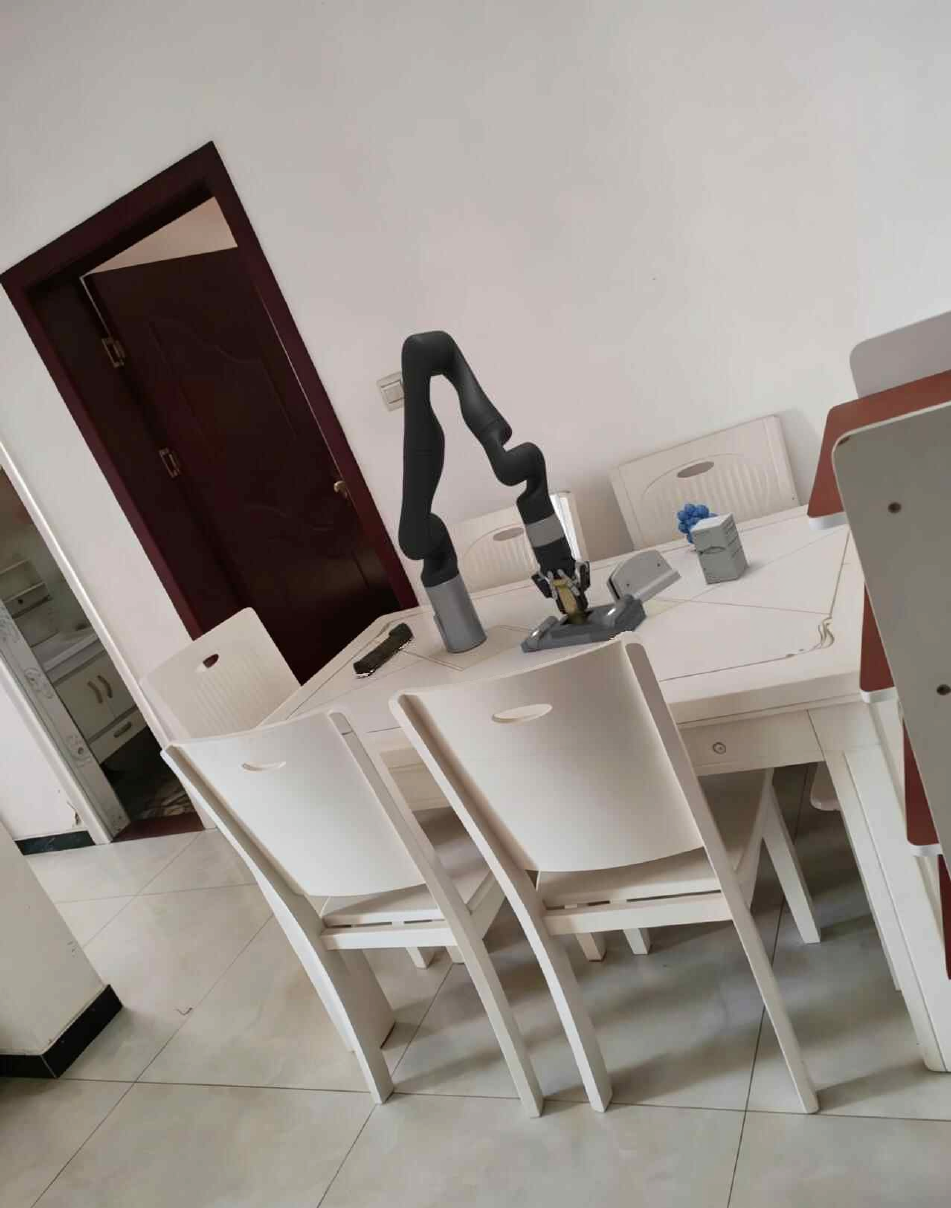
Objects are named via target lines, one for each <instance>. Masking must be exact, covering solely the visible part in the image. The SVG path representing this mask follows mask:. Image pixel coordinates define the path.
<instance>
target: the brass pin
mask: <svg viewBox="0 0 951 1208" xmlns="http://www.w3.org/2000/svg"><path fill="white" fill-rule="evenodd" d="M569 578H570V577H569ZM570 579H571V581H573V580H574V579H575V575H574V576H573V577H572V578H570ZM567 583H569V582H568V581H567V579H566V578H559V579H555V580H553V581H551V584H552V586H553V587H556V589H557V591H558V594H559V597H560V599H561V602H562V604H563V607H564V610H565V612H566V614H565V615H567V617H568V620H569V622H570V624H574V623H580V622H584V621H585V620H586V619H587V618H588V617H587V614H586V612H585V611H583V612H581V611H580V609H579V606H578V603H577V601H576V598H575V596H576V595H575V594H574V592H573V591H572V589H571V588H569V587H568V586H567Z"/></svg>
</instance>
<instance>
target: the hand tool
mask: <svg viewBox="0 0 951 1208" xmlns="http://www.w3.org/2000/svg"><path fill="white" fill-rule="evenodd" d="M412 637H413V638H414V633H413V631H412V629H411V627H410V626H409V625H408V624H407V623H405V622H401V623H399V624H397V625H396V626H395V627H393V628H391V630H390V631H389V632H388V637H386V639H385V640H383V641H382V642H381V643H379V644H378V645H376V647H375V648H374V649H372V650H371V651H369V652H368V653H367V654H366V655H364V656H362V658H361V659H360V660H357V661H355V662H353V664H352V667H353V669H354V672H355V674H356V675H357V674H363V673H370V671H371V670H373V669H374V668H375V667H376V666H377V665H378V664H379V665H380V663H381V662H382V661H383V660H384V661H385V659H386V658H387V659H388V658H389V657H391V656H392V655H393V654H394V653H395V652H396V651H398V650H400V649H399V648H400V647H402V646H403V645H404V644H406V643H407V642H408V641H410V639H411V638H412ZM413 638H412V639H413ZM410 642H411V641H410ZM393 652H394V653H393ZM392 653H393V654H392ZM387 659H386V660H387ZM384 661H383V662H384ZM383 662H382V663H383ZM382 663H381V664H382ZM379 665H378V666H379ZM378 666H377V667H378ZM377 667H376V668H377ZM376 668H375V669H376ZM375 669H374V670H375ZM370 674H371V673H370Z"/></svg>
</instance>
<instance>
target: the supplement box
mask: <svg viewBox="0 0 951 1208" xmlns="http://www.w3.org/2000/svg"><path fill="white" fill-rule="evenodd" d="M690 534H691V537H692V540H693V543H694V544H693V545H694V546H693V547H694V548H695V552H696V555H697V558H698V560H699V561H698V562H699V564H700V567H701V570H702V574H703V576H704V579H705V583H706V585H710V584H714V583H715V584H716V583H719V582H720V583H721V582H727V581H735V580H738V579H739V578H740V577H742V575H743V574H744V573H745V571H746V570H747V569H748V568H749V564H748V561H747V558H746V555H745V551H744V548H743V545H742V541H741V539H740V538H741V537H740V535H739V532H738V529H737V525H736V522H735V519H734V515H733V513H728V514H722V515H718V516H717V517H711V518H706V519H702V520H700V521H699V522H698V523H697V524H696V525H695V526H694V527H693V528H692V529H691V530H690Z"/></svg>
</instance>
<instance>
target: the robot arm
mask: <svg viewBox="0 0 951 1208" xmlns="http://www.w3.org/2000/svg"><path fill="white" fill-rule="evenodd" d="M400 355H401V356H400V358H401V361H400V363H401V377H402V379H401V380H402V391H403V442H402V463H403V464H402V494H401V495H402V496H401V498H402V499H401V509H400V516H399V523H398V532H397V541H398V545H399V549H400V551H401V552H402V554H403V555H404V556H405V557H406V558H408V559H409V560H411V561H421V560H423V563H422V564H423V565H422V570H421V572H420V576H419V578H420V581H421V583H422V586H423V588H424V591H425V593H426V595H427V598H428V600H429V602H430V605H431V607H432V609H433V612H434V614H433V616H432V619H433V621H434V623H435V626H436V628H437V630H438V632H439V635H440V637H441V640H442V641H443V644H444V646H445V649H446V651H447V652H451V653H454V652H456V653H460V652H464V651H465V652H466V651H468V650H470V649H473V648H475V647H477V646H479V645H480V644H482V643H483V642H484V641H485V640H486V639H487V635H486V633H485V630H484V628H483V626H482V623H481V621H480V620H481V619H480V618H479V615H478V613H477V611H476V607H475V605H474V603H473V601H472V598H471V595H470V593H469V591H468V588H467V586H466V584H465V582H464V579H463V577H462V574H461V572H460V569H459V566H458V563H459V561H458V555H457V552H456V548H455V546H454V543H453V541H452V538H451V534H450V532H449V530H448V528H447V526H446V524H445V522H444V521H443V520H442V518H441V517H440V516H439V515H437V513H436V514H435V513H433V512H432V504H433V500H434V497H435V494H436V492H437V488H438V485H439V483H440V479H441V477H442V473H443V470H444V464H445V456H446V455H445V454H446V453H445V452H446V451H445V450H446V437H445V436H446V435H445V432H444V430H443V427H442V425H441V423H440V421H439V419H438V417H437V415H436V414H435V411H434V409H433V406H432V403H431V379H432V377H437V376H443V377H444V378H445V379H446V380H448V382H449V383H450V384H451V385H452V386H453V388H454V389H455V391H456V394H457V397H458V400H459V408H460V414H461V416H462V419H463V421H464V424H465V425H466V426H467V428H468V429H469V431H470V432H471V433H472V435H473V436H474V438H475V439H477V441H478V442H479V444H480V445H481V447H482V448H483V450H484V453H485V454H486V456H487V459H488V460H489V463H490V466H491V469H492V470H493V474H494V477H496V479H497V481H499V483H501V484H502V485H504V486H507V487H515V486H517V485H519V484H521V483H523V482H525V481H526V482H525V483H526V486H525V489H524V490H523V491H522V493H521V494H519V495H518V497H516V500H515V504H516V507H517V510H518V513H519V516H520V518H521V520H522V523H523V526H524V529H525V533H526V537H527V539H528V542H529V545H530V546H531V549H532V552H533V555H534V557H535V560H536V562H537V564H538V565H539V570H537V571H536V572H534V574H533V575H531V577H530V578H531V581H532V582H533V583H534V584H535V586H536V587H537V589H538V590H539V591H540V592H541V594H542V595H543V597H544V598H545V599H553V600H554V601H555V603H556V606H557V609H558V611H559V613H561V614H562V615H563V616H565V615H566V612H565V610H564V607H563V604H562V602H561V599H560V597H559V594H558V591H557V589H556V587H553V586H552V584H551V581H553V580H555V579H559V578H566V579H567V581H568V582H569V583H567V586H568V587H569V588H571V589H572V591H573V592H574V594H575V595H576V596H575V598H576V601H577V603H578V606H579V609H580V611H581V612H583V611H585V610H586V609H587V608H589V602H588V599H587V596H586V593H585V592H586V591H587V590H588V589H590V587H591V585H592V584H591V568H590V567H591V566H590V564H591V563H590V562H589V561H588V560H585V561H584V562H581V561H577V560H576V559H575V557H574V556H573V554H572V549H571V546H570V543H569V541H568V537H567V536H566V533H565V530H564V528H563V525H562V522H561V520H560V518H559V516H558V514H557V512H556V510H555V507H554V505H553V501H552V500H551V496H550V494H549V485H548V475H547V474H548V473H547V466H546V465H547V464H546V460H545V456H544V453H543V452H542V450H541V449H540V448H539V447H538V445H536V444H535V443H534V442H531V441H526V442H523V443H520V444H518V445H516V446H515V447H513V448H511V449H508V450H507V449H505V448H504V446H505V445H506V444H507V443H508V442H509V441H510V439H511V437H512V435H513V428H512V427H511V425H510V424H509V422H508V421H507V420H506V419H505V417H504V416H503V415H502V413H501V412H500V411H499V410H498V408H496V407H495V405H494V404H493V403H492V401H491V399H490V398H489V397H488V396H487V394H486V393H485V391H484V389H483V387H482V386H481V385H480V383H479V381H478V379H477V378H476V375H475V374H474V372H473V370H472V368H471V366H470V364H469V363H468V361H467V359H466V358H465V356H464V354H463V353H462V350H461V349H460V347H459V346H458V344H457V342H456V341H455V339H453V337H452V336H451V335H450V334H449V333H448V332H446V331H444V330H431V331H425V332H420V333H414V334H411V335H409V336H407V337H406V339H404V342H403V344H402V347H401V354H400ZM576 571H577V572H576ZM577 573H578V574H579V575H578V574H577ZM574 575H575V579H574V580H573V581H571V579H570V578H572V577H573V576H574ZM569 577H570V578H569Z"/></svg>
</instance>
